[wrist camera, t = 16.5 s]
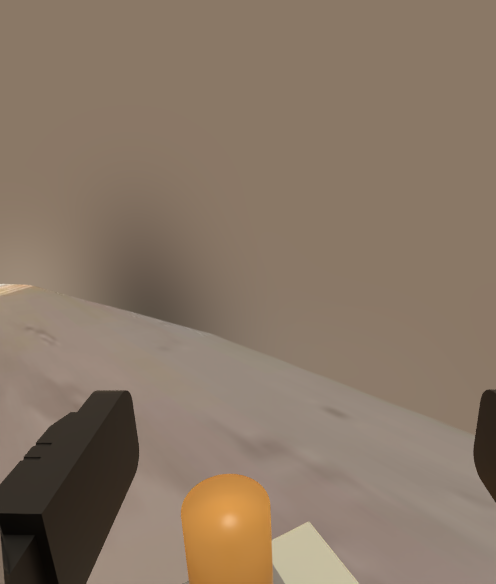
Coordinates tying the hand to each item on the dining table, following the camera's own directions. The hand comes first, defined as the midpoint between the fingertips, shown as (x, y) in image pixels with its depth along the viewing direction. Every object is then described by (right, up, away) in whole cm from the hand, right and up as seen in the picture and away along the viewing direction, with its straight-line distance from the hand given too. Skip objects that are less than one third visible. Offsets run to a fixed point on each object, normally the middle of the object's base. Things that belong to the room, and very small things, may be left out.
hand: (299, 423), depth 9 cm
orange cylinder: (-2, -20, +17) cm, 27 cm away
